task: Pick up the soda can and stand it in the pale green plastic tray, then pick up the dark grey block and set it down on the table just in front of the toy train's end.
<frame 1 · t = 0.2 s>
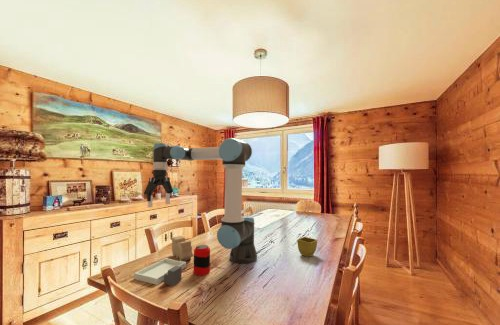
hand: (159, 205, 133), 28 cm above the table, fingers open, 13 cm apart
soda can: (201, 272, 108), on the table
dark grey block: (172, 282, 98), on the table
flower pot: (307, 255, 131), on the table
tray: (161, 272, 107), on the table
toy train: (181, 258, 126), on the table
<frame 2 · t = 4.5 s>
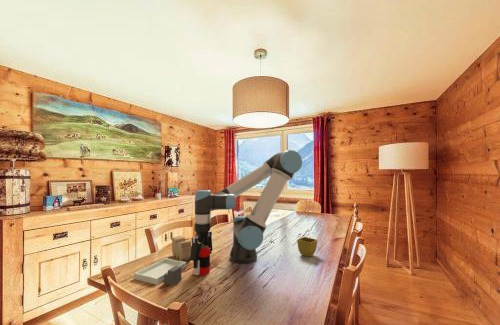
hand: (201, 270, 108), 1 cm above the table, fingers closed on soda can, 8 cm apart
soda can: (201, 272, 108), on the table, touching gripper
everything else where it was.
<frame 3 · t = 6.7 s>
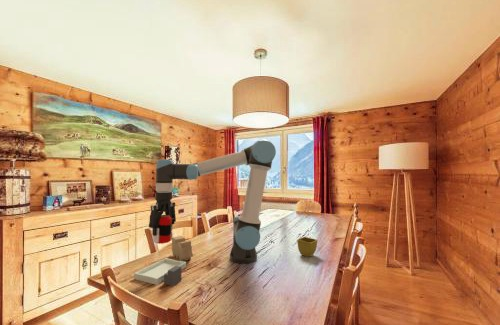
hand: (162, 239, 107), 15 cm above the table, fingers closed on soda can, 8 cm apart
soda can: (162, 241, 107), point 14 cm above the table, touching gripper
everything else where it was.
when the fingers open (3 cm above the table, at t = 9.4 s): soda can drops 1 cm, resting on tray.
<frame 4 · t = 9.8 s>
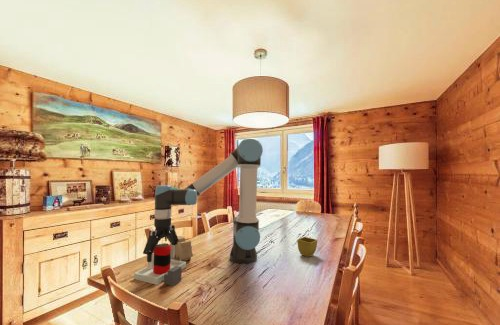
hand: (161, 263, 107), 4 cm above the table, fingers open, 13 cm apart
soda can: (161, 271, 107), point 1 cm above the table, touching tray
everything else where it was.
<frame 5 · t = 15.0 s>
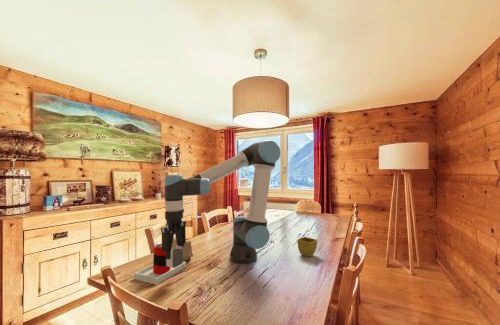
hand: (174, 263, 98), 8 cm above the table, fingers closed on dark grey block, 5 cm apart
dark grey block: (174, 264, 99), point 7 cm above the table, touching gripper
everything else where it was.
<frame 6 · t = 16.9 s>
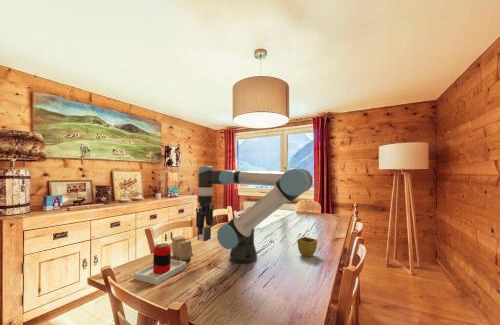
hand: (204, 238, 121), 12 cm above the table, fingers closed on dark grey block, 5 cm apart
dark grey block: (204, 239, 121), point 12 cm above the table, touching gripper
everything else where it was.
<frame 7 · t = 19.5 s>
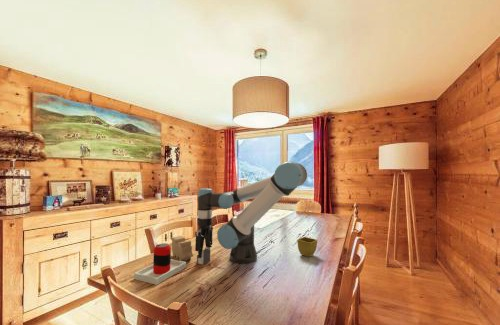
hand: (203, 261, 120), 0 cm above the table, fingers open, 5 cm apart
dark grey block: (203, 261, 120), on the table
everything else where it was.
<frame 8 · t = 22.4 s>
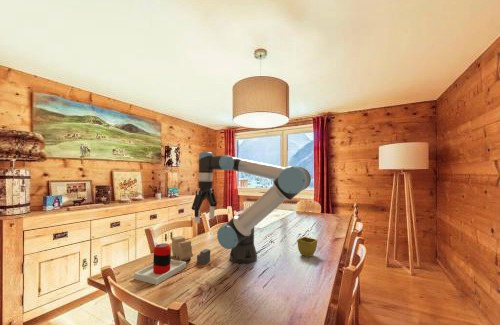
hand: (204, 220, 121), 22 cm above the table, fingers open, 13 cm apart
nothing on the table moved.
at the end: soda can inside the target area on the tray (0.1 cm from its centre), point 0.6 cm above the tray's base; soda can tilted 0°; dark grey block inside the target area (0.1 cm from its centre), on the table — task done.
